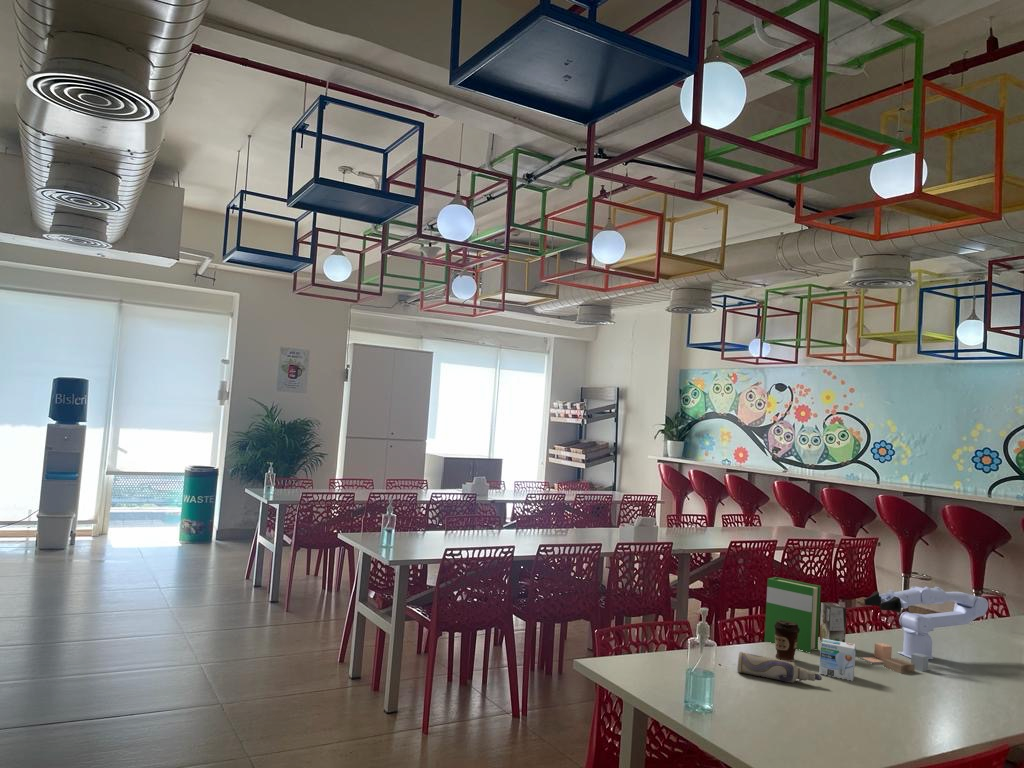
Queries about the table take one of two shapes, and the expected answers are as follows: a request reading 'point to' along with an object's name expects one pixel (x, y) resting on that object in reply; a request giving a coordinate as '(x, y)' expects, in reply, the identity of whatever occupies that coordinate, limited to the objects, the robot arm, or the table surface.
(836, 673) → the light bulb box
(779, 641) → the coffee cup
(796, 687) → the table surface
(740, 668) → the decorative bottle
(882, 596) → the robot arm
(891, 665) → the walnut slab
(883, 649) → the terracotta block
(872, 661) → the swatch
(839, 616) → the coffee box
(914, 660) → the slate block
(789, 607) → the hardback book
